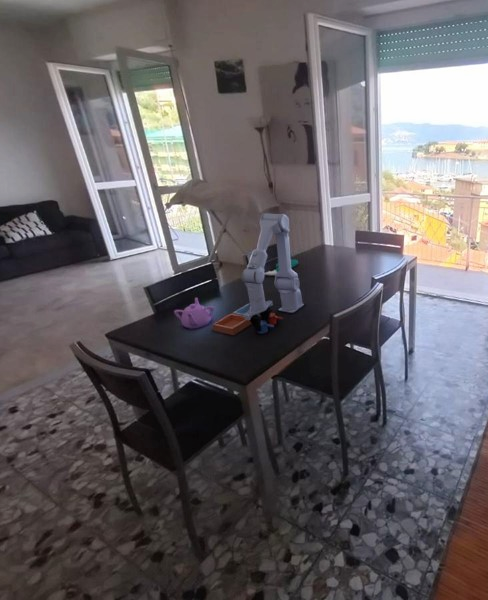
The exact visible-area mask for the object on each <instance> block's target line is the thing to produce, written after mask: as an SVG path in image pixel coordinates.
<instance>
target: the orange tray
mask: <svg viewBox="0 0 488 600" xmlns="http://www.w3.org/2000/svg"><path fill="white" fill-rule="evenodd" d="M251 325H253V324H252V323H251V321H250V320H245V318H244V316H241V315H236V314H233V313H229V314H228V315H226V316H224V317H222V318H221V319H219V320H217V321H216V322H214V323H212V324H211V326H212V329H213V332H217V333H220V334H221V333H222V334H226V335H230V336H235V335H237V334H238V333H240V332H241V331H243V330H245V329H246V328H247V327H249V326H251Z"/></svg>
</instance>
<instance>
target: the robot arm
mask: <svg viewBox="0 0 488 600" xmlns="http://www.w3.org/2000/svg"><path fill="white" fill-rule="evenodd" d="M258 223H259V227H260V233H259V237H258V242H257V245H256V249H253V250H252V252H251V255H250V258H249V261H248V264H247V267H245V269H243V270H242V273H241V281H242V282H243V283H244V285H245V287H246V289H247V294H248V298H249V299H248V300H249V303H250V307H249V308H250V310H249V311H248V312H247V313H246V314H245V315H244V318H245V320H250V321H251V323H252V324H251V325H252V326H253V328H254V330H255V331H256V332H257V331H259V332H260V331H261V320H265V321H266V323H267V324H269V317H270V314H271V313H273V311H272V310H273V309H272V308H271V307H272V306H273V305H274V304H273V300H267V301H266V297H265V292H264V285H263V282H264V280H265V277H266V275H264V273H265V265H266V263H267V259H268V254H267V250H268V247H269V245H270V243H271V240H272V238H273V236H274V235H275V242H276V251H277V263H279V271H278V272H277V273H276V274H275V275H274V281H273V282H274V283H273V285H274V288H275V289H276V290H277V291H278V292H279V297H280V302H281V307H279V308H278V309H277V310H278V311H279V312H285V313H291V314H294V313H295V312H296V311H298V310H299V309H300V308H302V307H303V306H305V304H304V303H303V298H302V291H301V289H300V284H301V283H300V279H299V276H298V275H299V274H298V273H297V272H295V271H294V270H293V268H291V259H292V257H291V249H290V236H289V233H290V232H291V230H290V218H289V216H287V215H286V214H285V213H266V212H264V213H262V214H261V216H260V219H259V222H258ZM269 307H270V308H269ZM258 313H259V314H260V316H261V317H260V316H258V315H257V314H258Z"/></svg>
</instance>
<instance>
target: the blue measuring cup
mask: <svg viewBox="0 0 488 600" xmlns="http://www.w3.org/2000/svg"><path fill="white" fill-rule="evenodd" d="M268 328H275V325H270V324H267V323H266V321H265V320H261V331H260V332H259V331H256V332H257V334H259V335H260V334H261V335H263V334H266V333H267V332H268V331H269V329H268Z"/></svg>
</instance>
